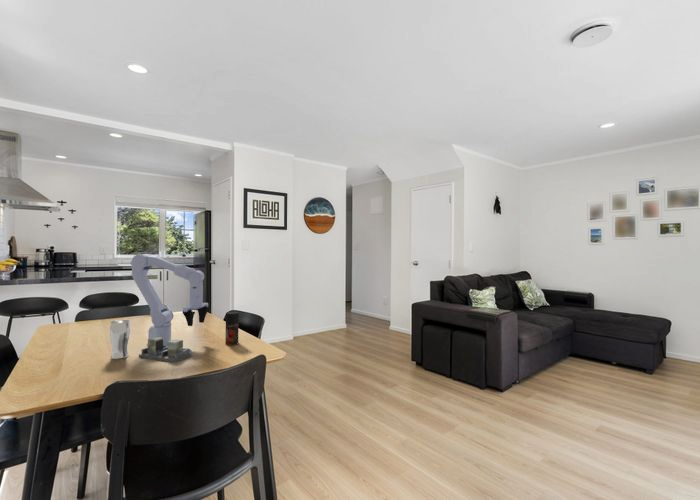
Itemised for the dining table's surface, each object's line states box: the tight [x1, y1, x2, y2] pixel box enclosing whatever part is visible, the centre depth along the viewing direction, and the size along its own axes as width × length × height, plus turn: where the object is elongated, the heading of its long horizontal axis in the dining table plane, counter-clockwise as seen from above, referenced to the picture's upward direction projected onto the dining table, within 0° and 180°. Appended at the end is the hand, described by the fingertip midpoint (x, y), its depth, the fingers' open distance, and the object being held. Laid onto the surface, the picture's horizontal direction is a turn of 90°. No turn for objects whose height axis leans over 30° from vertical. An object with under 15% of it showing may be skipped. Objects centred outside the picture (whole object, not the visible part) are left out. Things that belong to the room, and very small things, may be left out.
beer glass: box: [109, 319, 131, 360], centre depth 144 cm, size 7×7×15 cm
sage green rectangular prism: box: [167, 338, 184, 357], centre depth 144 cm, size 4×4×6 cm
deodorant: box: [225, 311, 240, 346], centre depth 167 cm, size 6×6×15 cm
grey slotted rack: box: [138, 337, 193, 363], centre depth 146 cm, size 19×9×7 cm, turn 73°
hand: (195, 324), depth 166 cm, fingers open, 7 cm apart
